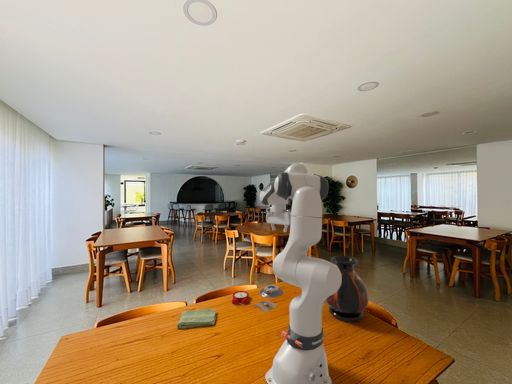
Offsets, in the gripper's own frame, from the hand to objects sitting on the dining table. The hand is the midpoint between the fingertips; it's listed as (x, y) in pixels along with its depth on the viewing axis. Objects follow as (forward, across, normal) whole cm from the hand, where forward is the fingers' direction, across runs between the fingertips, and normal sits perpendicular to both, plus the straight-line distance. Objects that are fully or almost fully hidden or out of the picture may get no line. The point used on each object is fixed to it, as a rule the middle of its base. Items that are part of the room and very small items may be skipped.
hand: (279, 231), depth 134 cm
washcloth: (+40, +8, +52) cm, 66 cm away
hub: (+39, +4, +4) cm, 40 cm away
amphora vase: (+39, -38, -8) cm, 55 cm away
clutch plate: (+38, +4, +4) cm, 38 cm away
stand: (+39, -6, +18) cm, 44 cm away
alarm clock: (+40, +8, +25) cm, 47 cm away
